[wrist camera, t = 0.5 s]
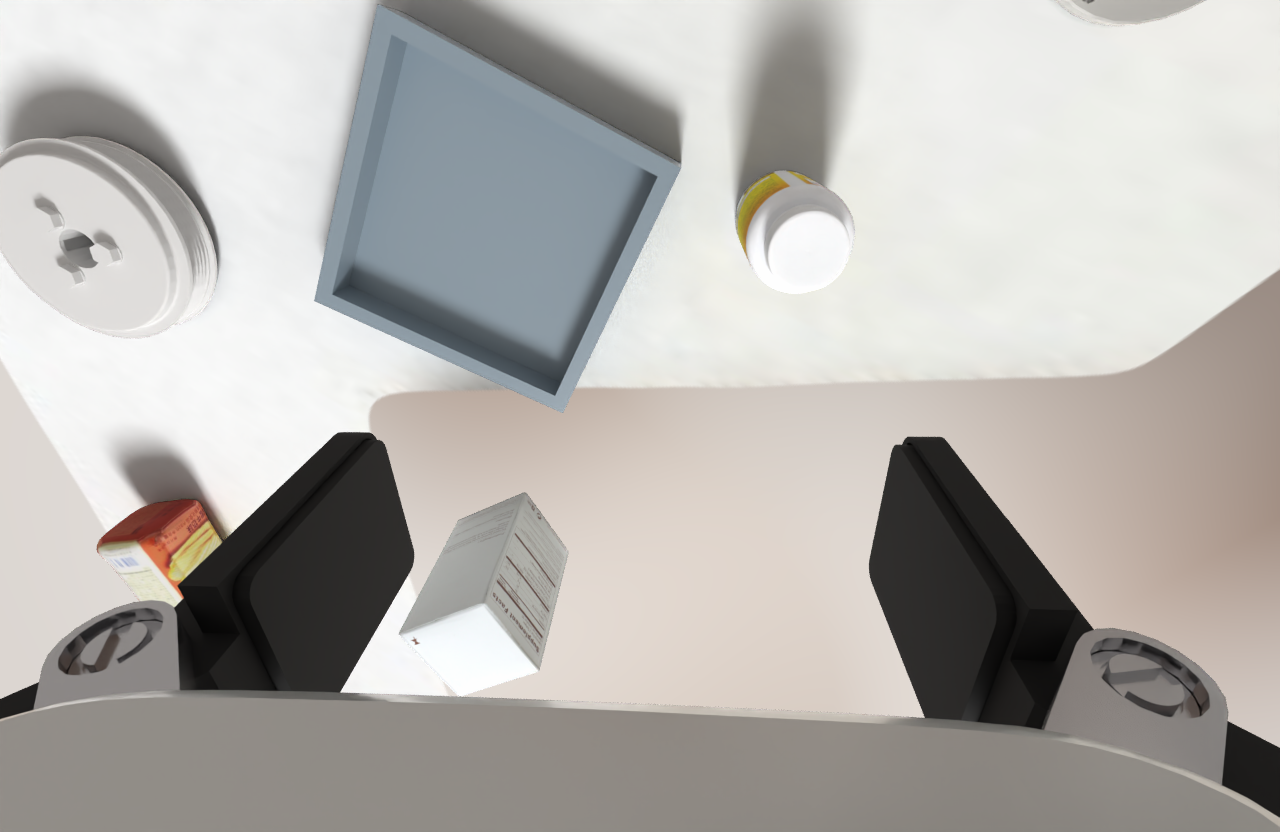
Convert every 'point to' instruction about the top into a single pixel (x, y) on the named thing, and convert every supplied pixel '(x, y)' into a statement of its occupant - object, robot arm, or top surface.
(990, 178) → the top surface
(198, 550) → the snack package
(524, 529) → the supplement box
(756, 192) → the supplement bottle
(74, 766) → the robot arm
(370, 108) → the tray
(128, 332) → the lid
